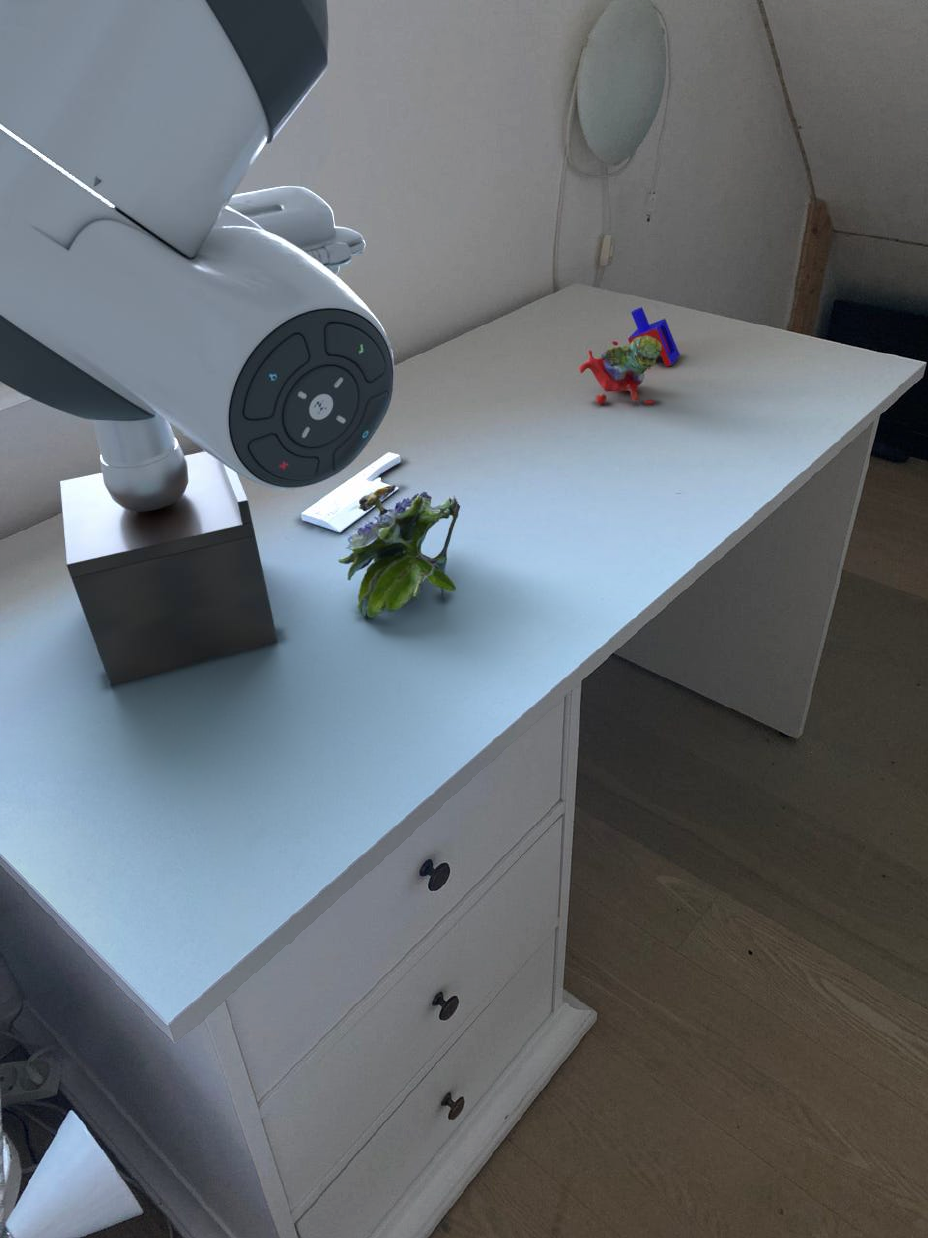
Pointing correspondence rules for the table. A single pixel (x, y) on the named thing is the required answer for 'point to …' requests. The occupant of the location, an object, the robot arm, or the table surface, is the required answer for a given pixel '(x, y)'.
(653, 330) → the blue and red dreidel
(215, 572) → the block with raised lip
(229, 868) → the table surface
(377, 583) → the passion flower
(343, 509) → the white plastic strip tool
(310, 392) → the robot arm
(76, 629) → the table surface
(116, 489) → the plastic bottle
